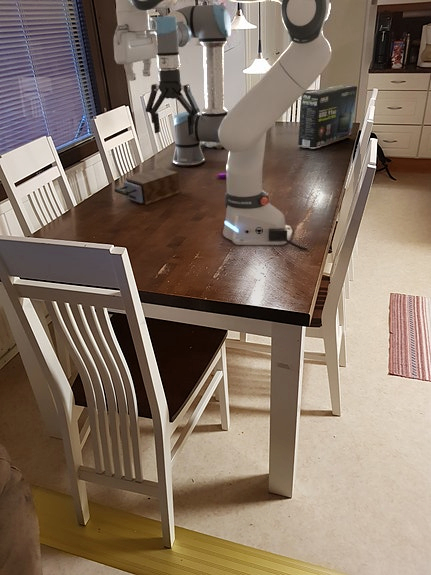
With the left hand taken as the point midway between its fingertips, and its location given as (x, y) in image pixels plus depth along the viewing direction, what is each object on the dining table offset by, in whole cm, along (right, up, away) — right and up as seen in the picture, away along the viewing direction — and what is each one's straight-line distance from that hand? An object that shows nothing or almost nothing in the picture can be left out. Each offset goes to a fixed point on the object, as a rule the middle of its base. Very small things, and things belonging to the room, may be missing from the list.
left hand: (174, 133), depth 167 cm
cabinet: (-9, -19, +17) cm, 27 cm away
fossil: (+14, +21, +82) cm, 86 cm away
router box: (+74, +21, +78) cm, 109 cm away
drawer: (-13, -20, +13) cm, 28 cm away
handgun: (+22, -12, +27) cm, 37 cm away
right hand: (-7, +5, -32) cm, 33 cm away
